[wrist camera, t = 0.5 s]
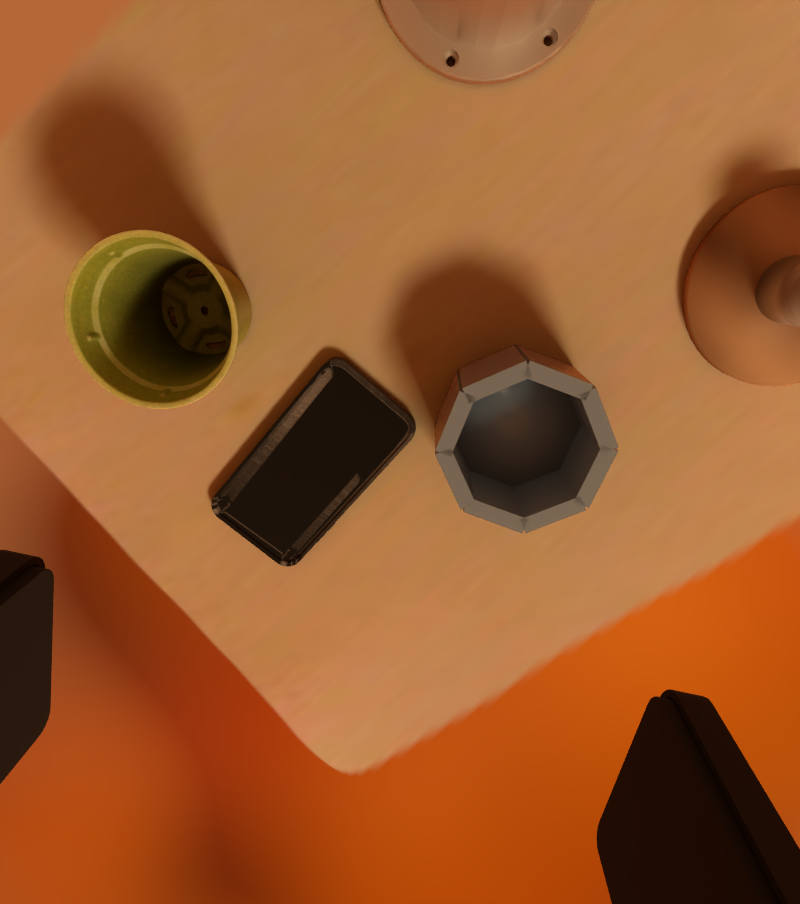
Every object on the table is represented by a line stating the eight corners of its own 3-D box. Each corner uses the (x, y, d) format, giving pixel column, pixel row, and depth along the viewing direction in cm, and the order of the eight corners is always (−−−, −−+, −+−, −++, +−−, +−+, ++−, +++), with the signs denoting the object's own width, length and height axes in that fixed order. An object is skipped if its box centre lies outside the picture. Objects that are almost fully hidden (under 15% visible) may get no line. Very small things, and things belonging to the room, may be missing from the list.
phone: (205, 507, 45) (333, 352, 41) (210, 501, 46) (336, 349, 42) (290, 573, 46) (423, 428, 42) (293, 565, 47) (424, 424, 43)
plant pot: (116, 252, 41) (34, 254, 32) (252, 217, 39) (204, 209, 31) (165, 390, 43) (101, 424, 35) (293, 361, 42) (259, 389, 34)
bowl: (473, 328, 41) (479, 341, 35) (614, 381, 41) (642, 403, 36) (419, 462, 44) (416, 494, 38) (550, 510, 44) (567, 549, 39)
